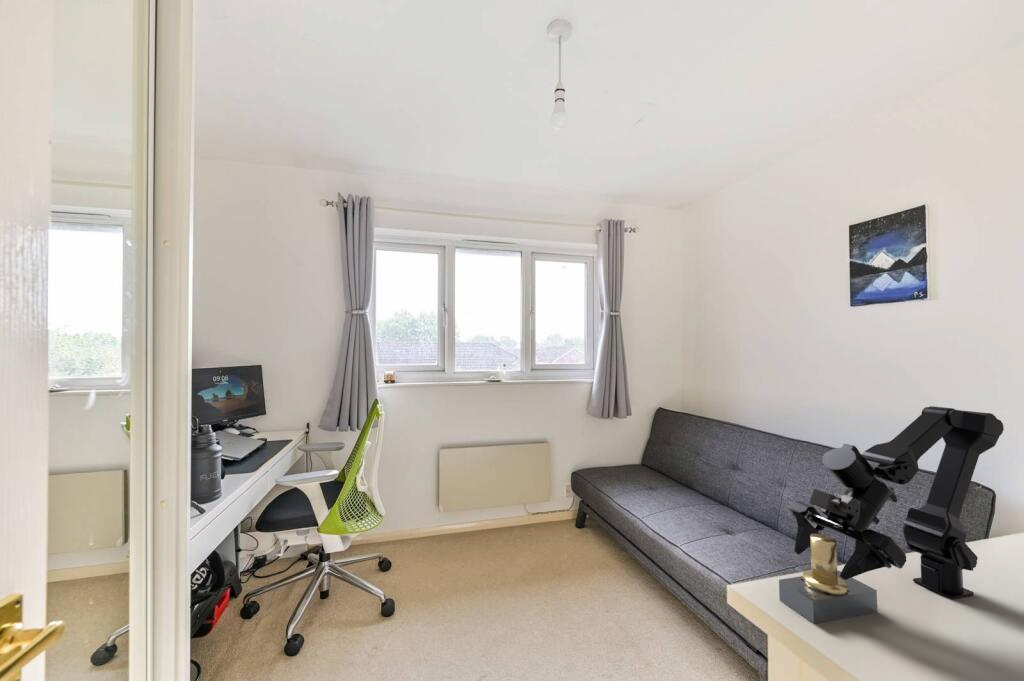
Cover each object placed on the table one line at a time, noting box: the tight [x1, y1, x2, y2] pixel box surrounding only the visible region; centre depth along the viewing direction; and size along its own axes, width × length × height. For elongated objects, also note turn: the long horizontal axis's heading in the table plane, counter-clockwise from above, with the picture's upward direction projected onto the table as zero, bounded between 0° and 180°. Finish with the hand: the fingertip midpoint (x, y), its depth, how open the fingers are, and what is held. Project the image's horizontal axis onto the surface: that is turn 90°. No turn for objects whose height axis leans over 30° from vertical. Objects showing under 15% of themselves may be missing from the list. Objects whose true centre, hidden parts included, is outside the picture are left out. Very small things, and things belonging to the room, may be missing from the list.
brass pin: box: [802, 533, 848, 596], centre depth 76 cm, size 7×7×13 cm
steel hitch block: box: [778, 570, 878, 624], centre depth 75 cm, size 15×7×4 cm, turn 102°
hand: (817, 564), depth 75 cm, fingers open, 9 cm apart
